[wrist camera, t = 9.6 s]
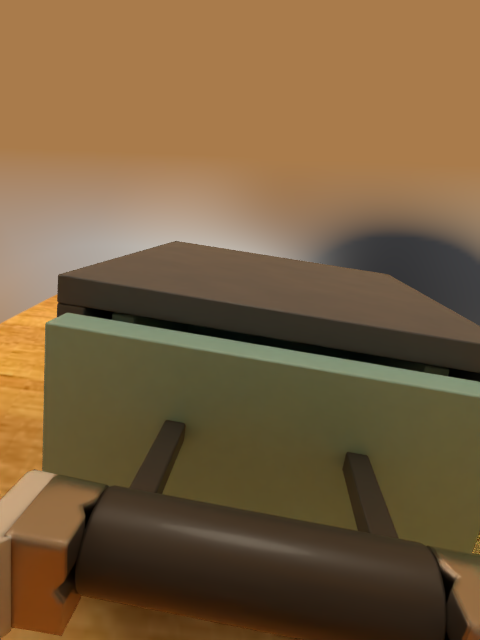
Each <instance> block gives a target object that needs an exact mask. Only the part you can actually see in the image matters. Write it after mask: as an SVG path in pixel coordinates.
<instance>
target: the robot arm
mask: <svg viewBox="0 0 480 640" xmlns="http://www.w3.org/2000/svg"><path fill="white" fill-rule="evenodd" d="M108 487H109V486H108V485H107V484H102V483H97V482H93V481H88V480H83V479H79V478H74V477H69V476H65V475H60V474H59V475H57V474H53V473H49V472H44V471H39V470H32V471H29V472H27V473H26V474H25V475H24V476H23V477H22V478H21V479H20V480H19V481H18V482H17V483H16V484H15V485H14V486H13V487H12V488H11V489H10V490H9V491H8V492H7V493H6V494H5V495H4V496H3V498H2V499H1V500H0V639H1V638H2V637H4V636H5V635H6V634H7V633H9V632H10V631H11V627H12V628H18V629H24V630H30V631H36V632H41V633H47V634H53V635H59V636H62V634H63V632H64V630H65V628H66V626H67V624H68V623H69V621H70V619H71V617H72V615H73V613H74V611H75V609H76V607H77V605H78V603H79V601H80V599H81V595H80V594H79V593H78V592H77V590H76V584H75V569H76V562H77V559H78V557H79V552H80V548H81V545H82V541H83V538H84V532H85V528H86V525H87V522H88V520H89V517H90V515H91V513H92V511H93V509H94V507H95V505H96V504H97V502H98V500H99V499H100V497H101V495H102V494H103V493H104V491H105V490H106V489H107V488H108ZM426 547H427V548H428V549H429V550H430V551H431V552H432V554H433V556H434V558H435V560H436V562H437V564H438V567H439V570H440V572H441V576H442V579H443V584H444V589H445V596H446V628H445V630H446V635H445V640H480V555H479V554H473V553H468V552H462V551H457V550H451V549H446V548H440V547H435V546H429V545H427V546H426Z"/></svg>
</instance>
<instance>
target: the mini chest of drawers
mask: <svg viewBox="0 0 480 640" xmlns="http://www.w3.org/2000/svg"><path fill="white" fill-rule="evenodd" d="M57 301H58V302H59V303H58V305H57V317H59V316H61V315H63V314H65V313H73V314H79V315H85V316H91V317H97V318H103V319H109V320H112V314H113V313H114V312H117V313H123V314H129V315H135V316H141V317H147V318H153V319H159V320H165V321H171V322H177V323H183V324H189V325H195V326H201V327H207V328H213V329H219V330H225V331H231V332H237V333H243V334H249V335H255V336H261V337H267V338H273V339H279V340H285V341H291V342H297V343H303V344H308V345H314V346H320V347H326V348H332V349H338V350H344V351H350V352H356V353H362V354H368V355H374V356H380V357H386V358H392V359H398V360H404V361H410V362H416V363H422V364H428V365H434V366H440V367H446V368H448V369H449V374H448V377H454V378H460V379H466V380H472V381H478V382H480V326H478V325H477V324H475V323H473V322H471V321H469V320H468V319H466V318H464V317H462V316H460V315H459V314H457V313H455V312H454V311H452V310H450V309H448V308H446V307H445V306H443V305H441V304H439V303H438V302H436V301H434V300H432V299H431V298H429V297H427V296H425V295H423V294H421V293H420V292H418V291H416V290H415V289H413V288H411V287H409V286H407V285H406V284H404V283H402V282H400V281H399V280H397V279H395V278H393V277H392V276H390V275H388V274H381V273H375V272H369V271H363V270H356V269H350V268H344V267H337V266H331V265H324V264H318V263H312V262H305V261H298V260H292V259H287V258H279V257H274V256H268V255H261V254H255V253H249V252H242V251H236V250H229V249H223V248H217V247H210V246H204V245H198V244H191V243H185V242H179V241H175V242H171V243H167V244H164V245H160V246H157V247H153V248H150V249H146V250H143V251H139V252H136V253H132V254H129V255H125V256H122V257H119V258H115V259H112V260H108V261H105V262H101V263H97V264H94V265H90V266H87V267H84V268H80V269H77V270H73V271H70V272H66V273H63V274H59V275H58V298H57Z"/></svg>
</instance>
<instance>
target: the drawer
mask: <svg viewBox="0 0 480 640" xmlns="http://www.w3.org/2000/svg"><path fill="white" fill-rule="evenodd" d="M448 374H449V369H448V368H446V367H440V366H434V365H428V364H422V363H416V362H410V361H404V360H398V359H392V358H386V357H380V356H374V355H368V354H362V353H356V352H350V351H344V350H338V349H332V348H326V347H320V346H314V345H308V344H303V343H297V342H291V341H285V340H279V339H273V338H267V337H261V336H255V335H249V334H243V333H237V332H231V331H225V330H219V329H213V328H207V327H201V326H195V325H189V324H183V323H177V322H171V321H165V320H159V319H153V318H147V317H141V316H135V315H129V314H123V313H117V312H114V313H113V314H112V320H109V319H103V318H97V317H91V316H85V315H79V314H73V313H65V314H63V315H61V316H59V317H57V318H55V319H53V320H51V321H49V322H46V325H45V371H44V417H43V464H42V471H44V472H49V473H53V474H57V475H59V474H60V475H65V476H69V477H74V478H79V479H83V480H88V481H93V482H97V483H102V484H107V485H108V486H109V487H108V488H107V489H106V490H105V491H104V493H103V494H102V495H101V497H100V499H99V500H98V502H97V504H96V505H95V507H94V509H93V511H92V513H91V515H90V517H89V520H88V522H87V525H86V528H85V532H84V538H83V541H82V545H81V548H80V552H79V557H78V559H77V562H76V569H75V584H76V590H77V592H78V593H79V594H80V595H82V596H87V597H92V598H97V599H102V600H107V601H112V602H117V603H122V604H127V605H132V606H137V607H142V608H147V609H152V610H157V611H162V612H167V613H172V614H176V615H181V616H186V617H191V618H196V619H201V620H206V621H211V622H216V623H221V624H226V625H231V626H236V627H241V628H246V629H251V630H256V631H261V632H266V633H271V634H276V635H281V636H286V637H291V638H296V639H301V640H445V635H446V630H445V628H446V596H445V589H444V584H443V579H442V576H441V572H440V570H439V567H438V564H437V562H436V560H435V558H434V556H433V554H432V552H431V551H430V550H429V549H428V548H427V547H426V546H427V545H429V546H435V547H440V548H446V549H451V550H457V551H462V552H468V553H472V551H473V549H474V546H475V543H476V540H477V538H478V535H479V532H480V382H478V381H472V380H466V379H460V378H454V377H448Z"/></svg>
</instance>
